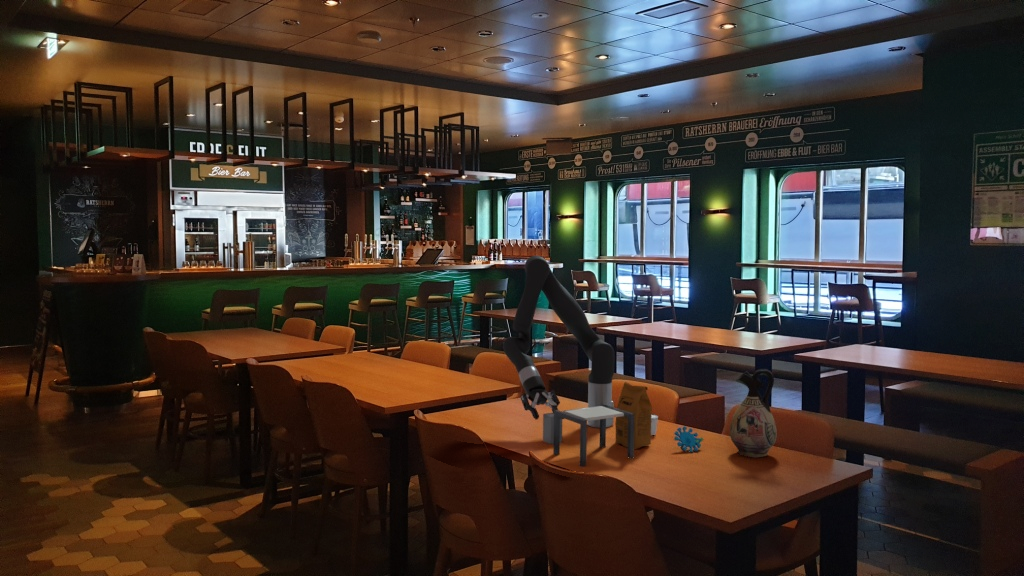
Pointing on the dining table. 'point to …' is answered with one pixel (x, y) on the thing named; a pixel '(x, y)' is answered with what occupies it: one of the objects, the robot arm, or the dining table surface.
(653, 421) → the shot glass
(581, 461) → the frame
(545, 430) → the grey rectangular block
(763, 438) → the ceramic jug
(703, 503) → the dining table surface
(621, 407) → the coffee package
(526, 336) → the robot arm
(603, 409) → the trapdoor
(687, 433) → the blue knobbed toy
